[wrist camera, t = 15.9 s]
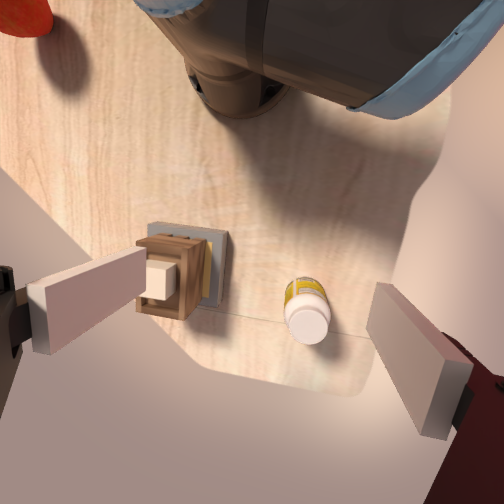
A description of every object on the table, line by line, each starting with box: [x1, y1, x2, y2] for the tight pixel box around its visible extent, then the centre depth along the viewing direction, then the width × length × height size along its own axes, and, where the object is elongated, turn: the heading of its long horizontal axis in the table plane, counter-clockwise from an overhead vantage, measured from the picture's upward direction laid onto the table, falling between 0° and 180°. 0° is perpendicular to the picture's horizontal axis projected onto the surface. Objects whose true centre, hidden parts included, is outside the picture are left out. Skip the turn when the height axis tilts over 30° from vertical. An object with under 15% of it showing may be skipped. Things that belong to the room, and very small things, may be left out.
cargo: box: [139, 259, 176, 300], centre depth 34 cm, size 4×4×3 cm
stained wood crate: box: [136, 233, 206, 321], centre depth 38 cm, size 10×7×7 cm
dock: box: [148, 222, 228, 308], centre depth 43 cm, size 12×12×3 cm
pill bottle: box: [284, 276, 331, 345], centre depth 37 cm, size 6×6×11 cm
